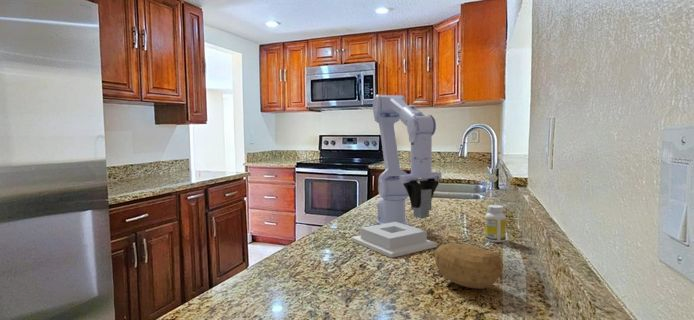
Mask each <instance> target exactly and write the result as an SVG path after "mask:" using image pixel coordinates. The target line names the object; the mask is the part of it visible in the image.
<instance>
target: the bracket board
mask: <svg viewBox="0 0 694 320" xmlns="http://www.w3.org/2000/svg"><path fill="white" fill-rule="evenodd" d="M427 235H428V231H427V230H425V229H422V228H418V227H415V226H412V225H405V224H402V223H399V222H391V223H385V224H376V225H371V226H370V225H369V226H365V227H360V235H356V236H351V237H350V239H351V240H350V241H352V242H354V243H356V244H358V245H360V246H363V247H366V248H368V249H370V250H372V251H375V252H376V253H379V254H382V255H383V256H387V257H389V258H391V259H392V258H397V257H400V256H405V255H409V254H412V253H413V254H414V253H418V252H421V251H425V250H428V249H429V250H430V249H434V248H438V242H437V241H433V240H429V239H428V238H427V237H428V236H427Z"/></svg>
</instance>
